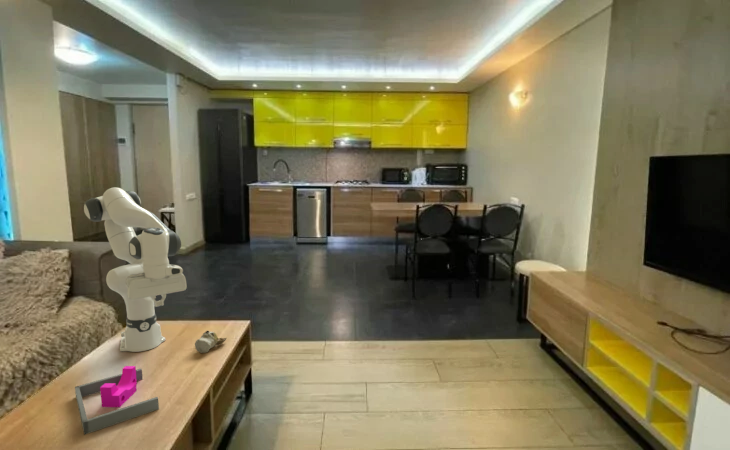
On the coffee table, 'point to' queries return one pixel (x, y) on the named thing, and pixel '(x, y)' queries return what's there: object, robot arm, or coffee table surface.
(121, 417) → the box
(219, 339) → the ceramic sculpture
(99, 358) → the coffee table surface
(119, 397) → the magenta curved bracket
